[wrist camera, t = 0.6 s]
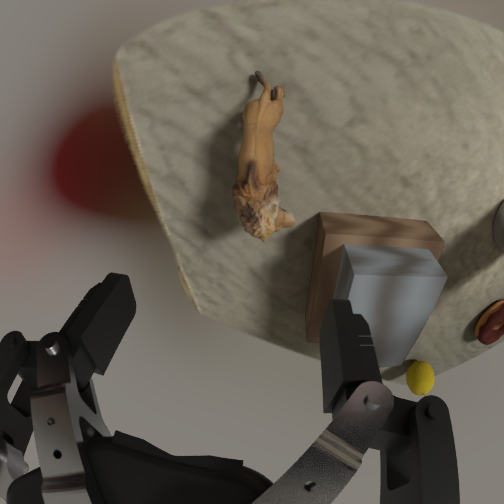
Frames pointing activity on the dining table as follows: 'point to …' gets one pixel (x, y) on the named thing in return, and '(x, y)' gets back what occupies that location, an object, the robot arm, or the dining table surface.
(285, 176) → the dining table surface
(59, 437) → the robot arm
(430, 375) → the lemon
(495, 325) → the donut
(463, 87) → the dining table surface
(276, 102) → the lion figurine
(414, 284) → the two-tone block
